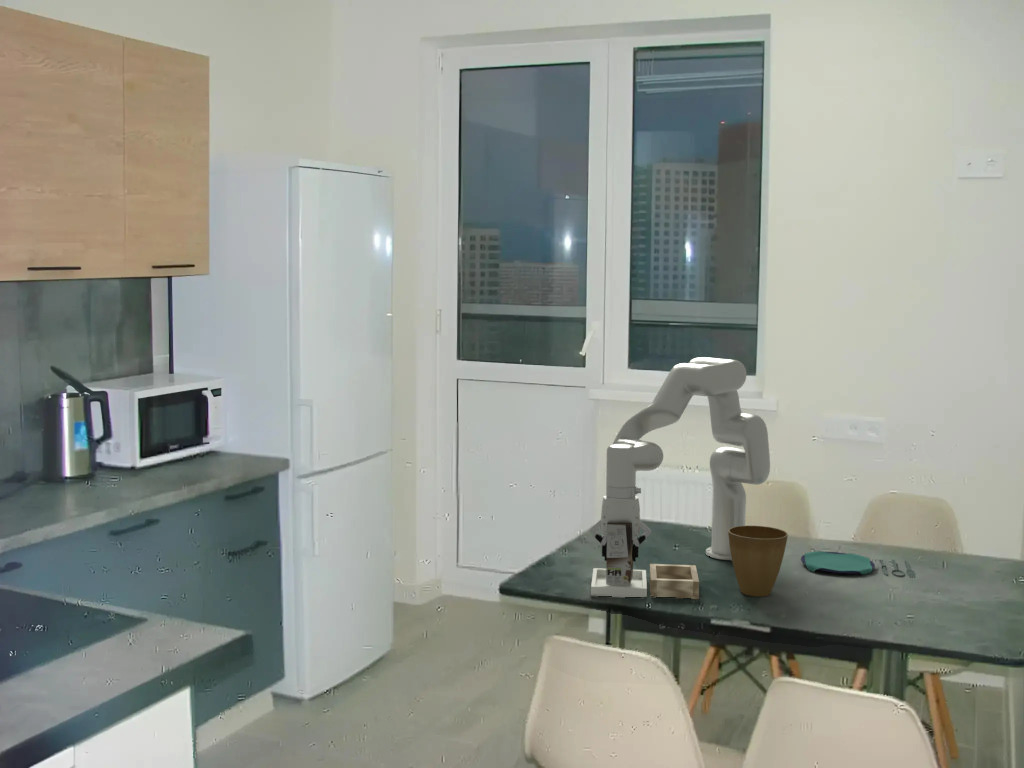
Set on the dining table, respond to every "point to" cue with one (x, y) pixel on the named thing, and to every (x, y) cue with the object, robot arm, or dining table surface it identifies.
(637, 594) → the tray
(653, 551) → the dining table surface
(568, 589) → the dining table surface
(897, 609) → the dining table surface
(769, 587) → the plant pot
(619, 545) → the coffee box
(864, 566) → the cutlery set
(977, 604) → the dining table surface
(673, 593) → the holder
